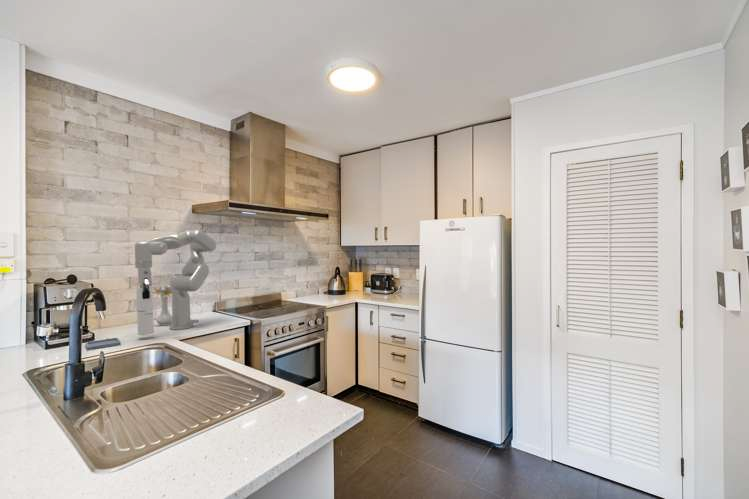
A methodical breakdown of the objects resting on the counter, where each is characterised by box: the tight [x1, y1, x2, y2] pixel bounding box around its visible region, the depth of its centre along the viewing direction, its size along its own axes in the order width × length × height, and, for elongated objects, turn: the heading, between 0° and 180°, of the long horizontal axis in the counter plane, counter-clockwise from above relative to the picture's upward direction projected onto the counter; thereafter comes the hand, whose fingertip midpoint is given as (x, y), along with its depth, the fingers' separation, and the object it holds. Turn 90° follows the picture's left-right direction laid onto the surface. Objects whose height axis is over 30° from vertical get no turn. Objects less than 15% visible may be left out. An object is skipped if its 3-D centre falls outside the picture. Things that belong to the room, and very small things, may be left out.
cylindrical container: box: [135, 285, 155, 336], centre depth 183 cm, size 7×7×25 cm
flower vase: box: [153, 285, 172, 327], centre depth 216 cm, size 13×18×25 cm
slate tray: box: [85, 337, 122, 351], centre depth 170 cm, size 13×13×2 cm
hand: (144, 297), depth 182 cm, fingers closed on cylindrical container, 7 cm apart
